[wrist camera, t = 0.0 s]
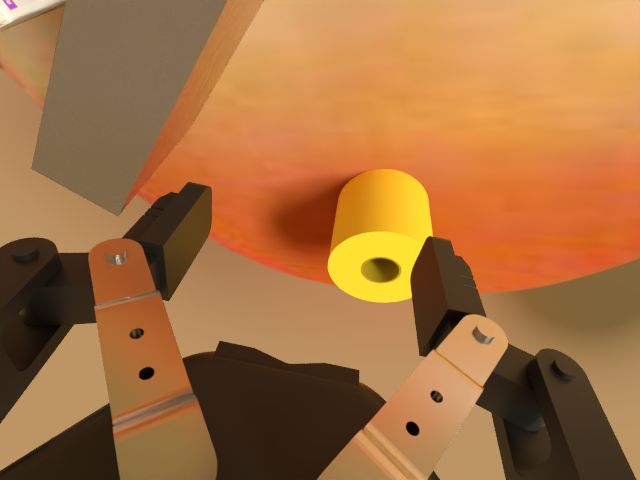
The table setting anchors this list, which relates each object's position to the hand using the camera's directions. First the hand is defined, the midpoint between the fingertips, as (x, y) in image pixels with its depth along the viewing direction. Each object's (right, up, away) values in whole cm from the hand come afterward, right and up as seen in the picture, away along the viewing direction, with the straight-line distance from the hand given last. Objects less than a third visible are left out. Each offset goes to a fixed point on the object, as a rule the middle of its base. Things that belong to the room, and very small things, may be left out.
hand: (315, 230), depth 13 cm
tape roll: (+7, +3, +27) cm, 28 cm away
